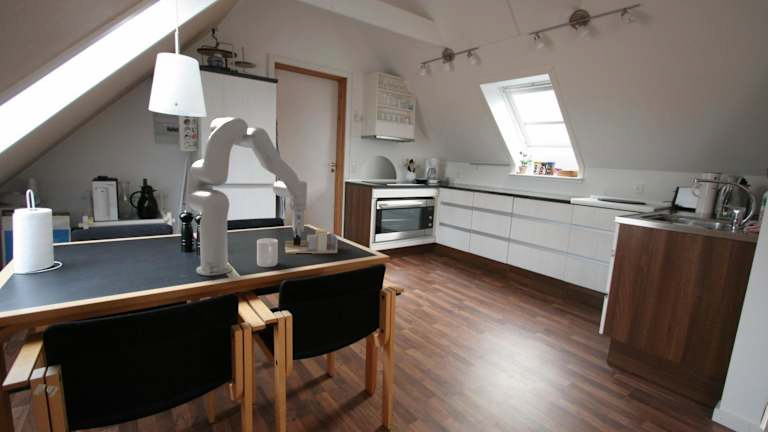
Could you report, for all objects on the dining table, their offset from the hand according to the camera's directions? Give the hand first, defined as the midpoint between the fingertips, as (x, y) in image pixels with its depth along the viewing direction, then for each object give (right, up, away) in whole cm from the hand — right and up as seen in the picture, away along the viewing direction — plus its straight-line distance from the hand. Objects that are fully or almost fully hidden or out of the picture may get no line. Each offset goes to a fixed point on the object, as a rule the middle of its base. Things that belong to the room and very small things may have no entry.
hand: (296, 244), depth 175 cm
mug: (-7, -7, -23) cm, 25 cm away
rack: (+6, -3, +3) cm, 8 cm away
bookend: (+7, -2, +3) cm, 7 cm away
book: (+11, -2, +3) cm, 12 cm away
